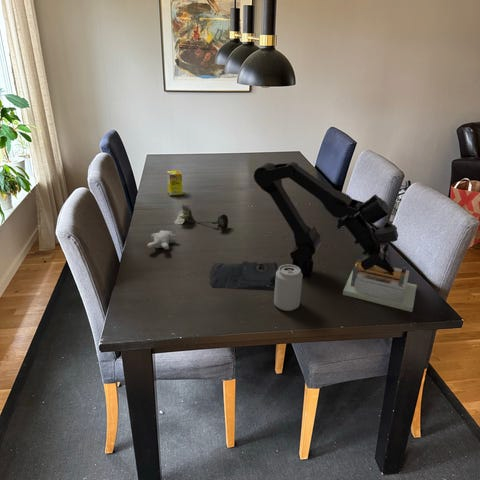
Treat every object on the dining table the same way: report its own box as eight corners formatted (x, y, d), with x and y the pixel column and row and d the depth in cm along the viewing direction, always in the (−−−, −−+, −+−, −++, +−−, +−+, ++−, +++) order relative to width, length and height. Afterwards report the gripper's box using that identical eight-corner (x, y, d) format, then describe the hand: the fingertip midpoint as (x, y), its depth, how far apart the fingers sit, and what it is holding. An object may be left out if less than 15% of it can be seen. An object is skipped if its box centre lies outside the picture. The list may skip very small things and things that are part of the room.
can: (297, 298, 128) (300, 262, 123) (301, 312, 121) (305, 275, 116) (272, 297, 128) (274, 262, 123) (274, 312, 121) (277, 275, 116)
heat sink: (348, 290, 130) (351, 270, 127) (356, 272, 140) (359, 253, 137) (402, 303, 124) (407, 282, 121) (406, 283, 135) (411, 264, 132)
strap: (353, 269, 132) (354, 265, 131) (356, 264, 135) (356, 260, 134) (403, 280, 126) (404, 277, 126) (404, 275, 129) (405, 272, 129)
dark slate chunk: (211, 265, 145) (211, 253, 143) (276, 267, 146) (277, 255, 144) (208, 290, 132) (208, 276, 130) (279, 292, 132) (281, 278, 130)
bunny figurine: (179, 228, 162) (170, 241, 147) (179, 241, 163) (170, 255, 149) (154, 226, 162) (143, 239, 148) (154, 239, 164) (143, 253, 150)
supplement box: (182, 195, 205) (182, 173, 201) (170, 197, 203) (169, 174, 199) (179, 191, 210) (178, 170, 206) (167, 193, 208) (166, 171, 204)
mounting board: (342, 294, 131) (343, 290, 130) (351, 274, 142) (352, 270, 142) (412, 312, 123) (413, 307, 123) (415, 288, 135) (416, 284, 134)
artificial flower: (220, 237, 168) (214, 217, 162) (174, 231, 178) (166, 211, 172) (230, 224, 174) (225, 204, 168) (185, 219, 184) (178, 199, 178)
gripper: (379, 228, 116) (414, 273, 116) (388, 206, 131) (419, 246, 132) (346, 248, 122) (380, 291, 123) (358, 225, 137) (388, 263, 138)
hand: (393, 271), depth 129 cm, fingers closed, pressing on strap
